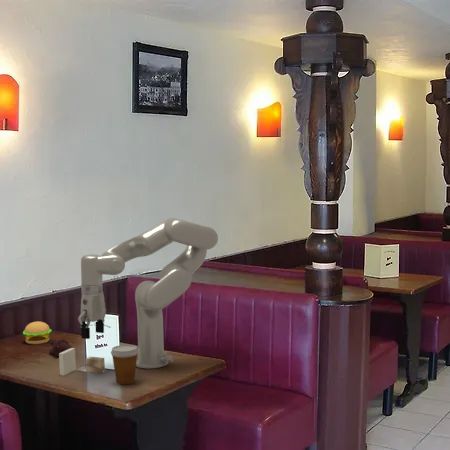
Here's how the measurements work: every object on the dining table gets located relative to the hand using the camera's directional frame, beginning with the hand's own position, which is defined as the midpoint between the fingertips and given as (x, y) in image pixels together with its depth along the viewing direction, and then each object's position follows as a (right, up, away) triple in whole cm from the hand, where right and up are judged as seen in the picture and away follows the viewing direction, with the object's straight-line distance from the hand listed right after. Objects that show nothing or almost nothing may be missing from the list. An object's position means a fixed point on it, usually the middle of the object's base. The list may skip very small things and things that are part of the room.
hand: (92, 335), depth 259 cm
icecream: (-17, -12, +23) cm, 31 cm away
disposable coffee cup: (+14, -15, -11) cm, 23 cm away
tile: (-9, -14, +1) cm, 17 cm away
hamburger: (-33, -10, +48) cm, 59 cm away
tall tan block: (-1, -13, +2) cm, 14 cm away
